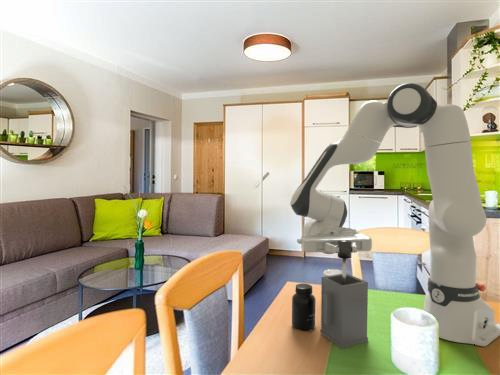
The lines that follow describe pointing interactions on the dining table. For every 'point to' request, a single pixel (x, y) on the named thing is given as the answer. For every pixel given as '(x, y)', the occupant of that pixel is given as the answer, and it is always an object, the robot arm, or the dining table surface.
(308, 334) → the dining table surface
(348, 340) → the gray open square box
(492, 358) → the dining table surface
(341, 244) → the dark cylinder rod
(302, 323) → the supplement bottle
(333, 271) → the white cup
